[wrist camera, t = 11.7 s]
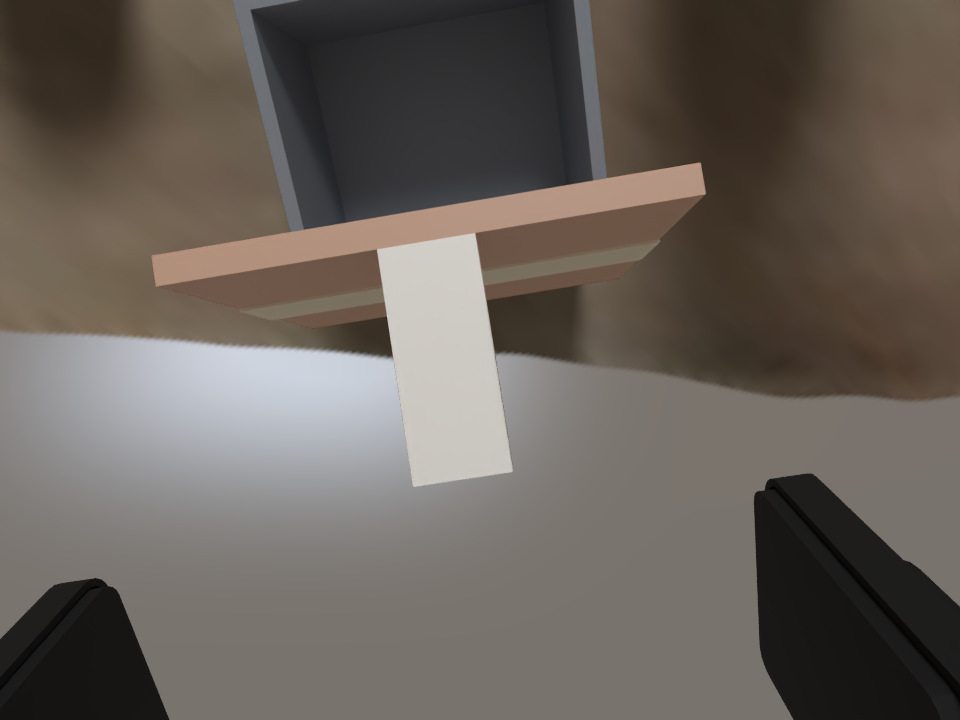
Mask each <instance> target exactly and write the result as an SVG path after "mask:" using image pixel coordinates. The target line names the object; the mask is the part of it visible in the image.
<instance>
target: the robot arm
mask: <svg viewBox="0 0 960 720" xmlns="http://www.w3.org/2000/svg"><path fill="white" fill-rule="evenodd" d="M754 515H755V540H756V565H757V590H758V614H759V640H760V651H761V655H762V659H763V662H764V665H765V668H766V670H767V672H768V674H769V676H770V678H771V680H772V682H773V683H774V685H775V687H776V689H777V690H778V693H779V694H780V696H781V698H782V700H783V701H784V703H785V705H786V707H787V709H788V710H789V712H790V714H791V716H792V717H793V719H794V720H960V607H959V606H958V605H957V604H956V603H955V602H954V601H953V600H952V599H951V598H950V597H949V596H948V595H947V594H946V593H945V592H943V591H942V590H941V589H940V588H939V587H938V586H937V585H936V584H935V583H934V582H933V581H932V580H931V579H930V578H929V577H927V575H925V574H924V573H923V572H922V571H921V570H920V569H919V568H917V567H916V566H915V565H913V564H912V563H911V562H908V561H904V560H902V558H901V557H900V556H899V555H897V554H896V553H895V552H894V551H893V550H892V549H891V548H890V547H889V546H888V545H887V544H886V543H885V542H884V541H883V540H882V539H881V538H880V537H879V536H878V535H877V534H876V533H874V532H873V531H872V530H871V529H870V528H869V527H868V526H867V525H866V524H865V523H864V522H863V521H862V520H861V519H860V518H859V517H858V516H857V515H856V514H855V513H854V512H852V511H851V509H849V508H848V507H847V506H846V505H845V504H844V503H843V502H842V501H841V500H840V499H839V498H838V497H837V496H836V495H835V494H834V493H833V492H832V491H831V490H830V489H829V488H828V487H827V486H825V485H824V484H823V483H822V482H821V481H820V480H819V479H818V478H817V477H816V476H814V475H813V474H801V475H794V476H787V477H780V478H774V479H769V480H768V481H767V483H766V486H765V490H764V491H758V492H756V493H755V496H754ZM0 720H169V718H168V715H167V713H166V710H165V708H164V705H163V703H162V700H161V698H160V695H159V693H158V690H157V688H156V685H155V683H154V681H153V678H152V675H151V673H150V671H149V668H148V665H147V663H146V660H145V658H144V655H143V653H142V650H141V648H140V645H139V643H138V640H137V638H136V636H135V633H134V630H133V628H132V625H131V623H130V620H129V618H128V615H127V613H126V610H125V608H124V605H123V603H122V600H121V598H120V595H119V594H118V592H117V590H116V589H114V588H113V587H108V586H107V584H106V583H105V582H104V581H103V580H101V579H97V578H94V579H87V580H80V581H74V582H67V583H61V584H57V585H54V586H53V587H52V588H50V589H49V590H48V591H47V592H46V593H45V594H44V595H43V596H42V597H41V598H40V599H39V600H38V601H37V602H36V603H35V604H34V605H33V606H32V607H31V608H30V609H29V610H28V611H27V612H26V613H25V614H24V615H23V616H22V618H20V620H19V621H18V622H17V623H16V624H15V625H14V626H13V627H12V628H11V629H10V630H9V631H8V632H7V633H6V634H5V635H4V636H3V637H2V638H1V639H0Z"/></svg>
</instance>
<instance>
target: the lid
mask: <svg viewBox="0 0 960 720" xmlns="http://www.w3.org/2000/svg"><path fill="white" fill-rule="evenodd" d="M705 195H706V191H705V186H704V180H703V174H702V168H701V163H694V164H688V165H682V166H677V167H671V168H665V169H659V170H653V171H647V172H641V173H635V174H630V175H624V176H618V177H612V178H606V179H600V180H594V181H588V182H582V183H577V184H571V185H565V186H559V187H553V188H547V189H541V190H535V191H530V192H524V193H518V194H512V195H506V196H500V197H494V198H488V199H483V200H477V201H471V202H465V203H459V204H453V205H447V206H441V207H435V208H430V209H424V210H418V211H412V212H406V213H400V214H394V215H388V216H383V217H377V218H371V219H365V220H359V221H353V222H347V223H341V224H335V225H330V226H324V227H318V228H312V229H306V230H300V231H294V232H288V233H283V234H277V235H271V236H265V237H259V238H253V239H247V240H241V241H235V242H230V243H224V244H218V245H212V246H206V247H200V248H194V249H188V250H183V251H177V252H171V253H165V254H159V255H153V256H152V261H153V269H154V276H155V283H156V287H160V288H163V289H167V290H171V291H174V292H178V293H182V294H186V295H189V296H193V297H197V298H200V299H204V300H208V301H212V302H215V303H219V304H223V305H226V306H230V307H234V308H237V309H239V312H242V313H246V314H250V315H253V316H257V317H261V318H265V319H269V320H282V321H286V322H289V323H293V324H297V325H300V326H304V327H308V328H312V329H314V328H320V327H326V326H332V325H338V324H345V323H351V322H357V321H363V320H369V319H375V318H381V317H387V319H388V326H389V332H390V339H391V345H392V352H393V359H394V365H395V372H396V378H397V385H398V392H399V398H400V404H401V411H402V418H403V424H404V431H405V437H406V444H407V451H408V457H409V464H410V470H411V476H412V484H413V487H417V486H424V485H431V484H437V483H444V482H451V481H457V480H464V479H470V478H477V477H484V476H490V475H497V474H503V473H510V472H513V464H512V458H511V451H510V445H509V439H508V432H507V427H506V420H505V414H504V407H503V401H502V395H501V388H500V382H499V376H498V370H497V363H496V357H495V350H494V344H493V338H492V332H491V325H490V319H489V313H488V306H487V300H492V299H498V298H504V297H510V296H516V295H522V294H528V293H535V292H541V291H547V290H553V289H559V288H565V287H571V286H577V285H584V284H590V283H596V282H602V281H608V280H614V279H619V278H620V277H621V276H622V275H623V274H624V273H625V272H626V271H627V270H628V269H629V268H630V267H631V266H632V265H633V264H634V263H636V262H637V261H638V260H642V259H643V258H644V257H645V256H646V255H647V254H648V253H649V252H650V251H651V250H652V249H653V248H654V247H656V246H657V245H658V244H659V243H660V238H661V237H662V236H663V235H664V234H665V233H666V232H667V231H669V230H670V229H671V228H672V227H673V226H674V225H675V224H676V223H677V222H678V221H679V220H680V219H681V218H682V217H683V216H684V215H685V214H686V213H687V212H688V211H689V210H690V209H691V208H692V207H693V206H694V205H695V204H696V203H697V202H698V201H699V200H700V199H702V198H703V197H704V196H705Z"/></svg>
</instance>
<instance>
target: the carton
mask: <svg viewBox="0 0 960 720" xmlns="http://www.w3.org/2000/svg"><path fill="white" fill-rule="evenodd" d="M233 4H234V8H235V12H236V16H237V20H238V24H239V28H240V32H241V36H242V40H243V44H244V48H245V52H246V56H247V60H248V64H249V68H250V72H251V76H252V80H253V84H254V88H255V92H256V96H257V100H258V104H259V108H260V112H261V116H262V120H263V124H264V128H265V132H266V135H267V139H268V143H269V147H270V151H271V155H272V159H273V163H274V167H275V171H276V175H277V179H278V183H279V187H280V191H281V195H282V199H283V203H284V207H285V211H286V215H287V219H288V223H289V227H290V231H291V232H294V231H300V230H306V229H312V228H318V227H324V226H330V225H335V224H341V223H347V222H353V221H359V220H365V219H371V218H377V217H383V216H388V215H394V214H400V213H406V212H412V211H418V210H424V209H430V208H435V207H441V206H447V205H453V204H459V203H465V202H471V201H477V200H483V199H488V198H494V197H500V196H506V195H512V194H518V193H524V192H530V191H535V190H541V189H547V188H553V187H559V186H565V185H571V184H577V183H582V182H588V181H594V180H600V179H606V178H607V174H606V164H605V154H604V144H603V134H602V124H601V115H600V105H599V95H598V85H597V75H596V65H595V55H594V46H593V36H592V26H591V16H590V6H589V0H233Z"/></svg>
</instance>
